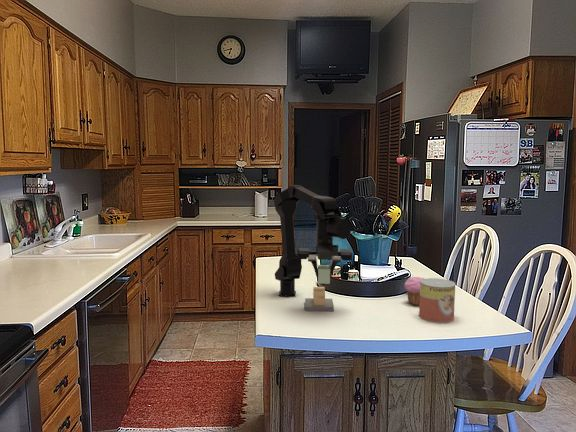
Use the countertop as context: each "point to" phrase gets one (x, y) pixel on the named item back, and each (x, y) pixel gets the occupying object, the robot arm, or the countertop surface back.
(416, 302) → the cupcake
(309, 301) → the grey baseplate
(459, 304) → the countertop surface
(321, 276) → the sage brick
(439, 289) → the canned food
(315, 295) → the oak brick
